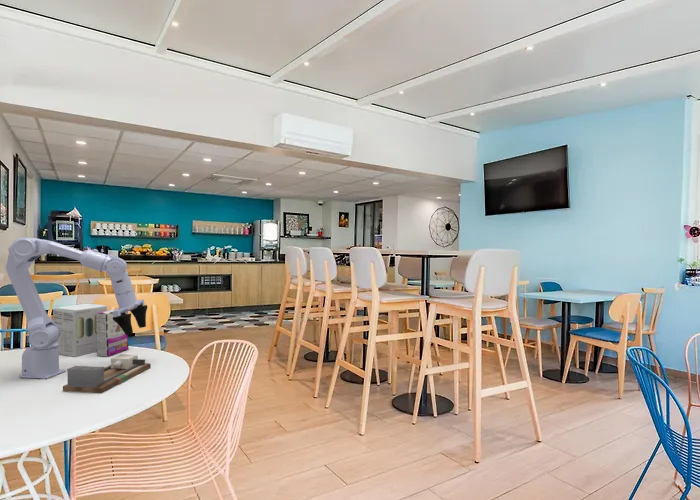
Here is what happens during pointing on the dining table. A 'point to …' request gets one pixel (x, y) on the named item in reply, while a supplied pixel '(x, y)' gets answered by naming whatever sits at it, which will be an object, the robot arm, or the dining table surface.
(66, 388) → the base
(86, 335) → the supplement box
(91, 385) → the dark grey block
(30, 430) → the dining table surface
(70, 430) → the dining table surface
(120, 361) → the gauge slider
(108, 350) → the candy bar box
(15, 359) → the dining table surface
